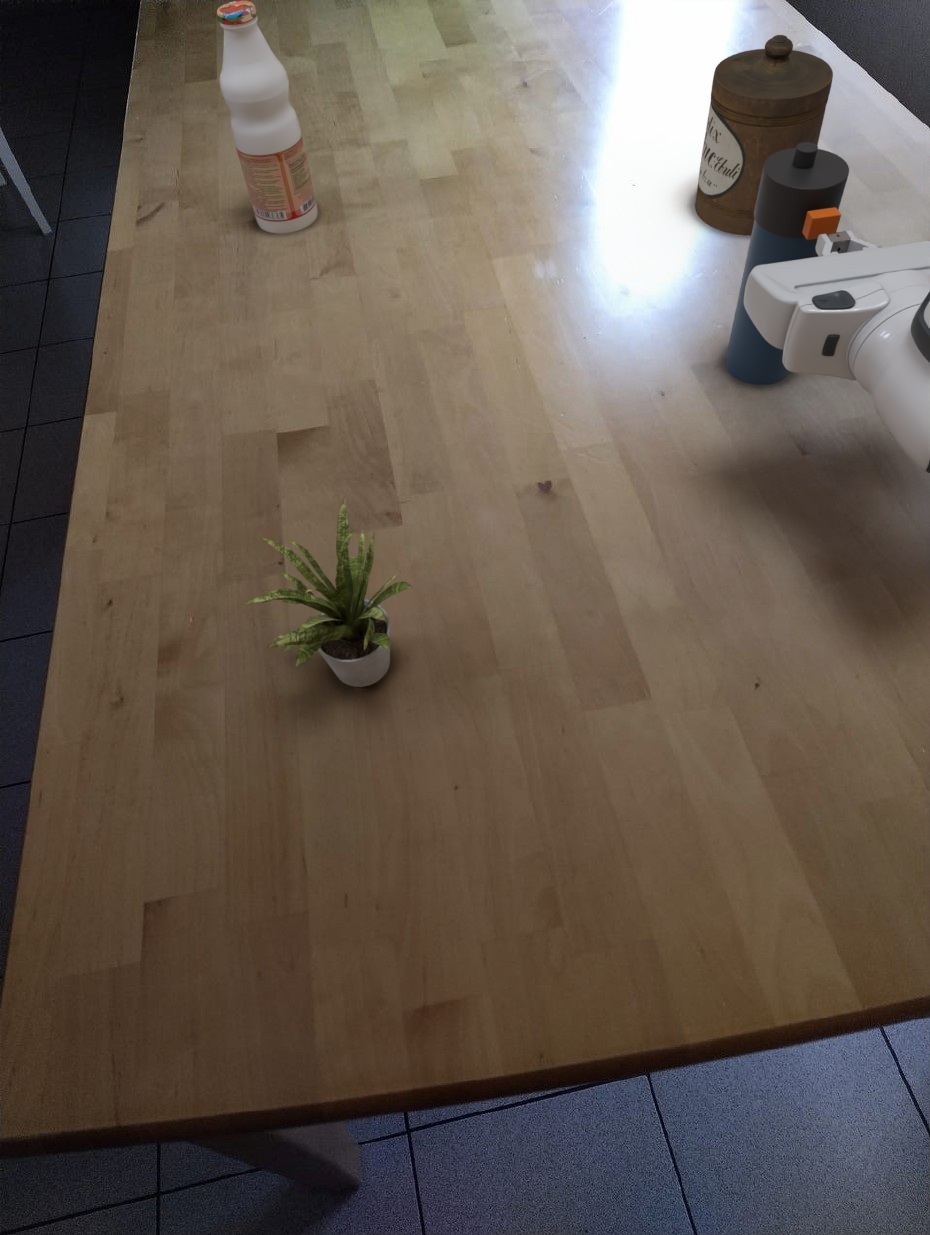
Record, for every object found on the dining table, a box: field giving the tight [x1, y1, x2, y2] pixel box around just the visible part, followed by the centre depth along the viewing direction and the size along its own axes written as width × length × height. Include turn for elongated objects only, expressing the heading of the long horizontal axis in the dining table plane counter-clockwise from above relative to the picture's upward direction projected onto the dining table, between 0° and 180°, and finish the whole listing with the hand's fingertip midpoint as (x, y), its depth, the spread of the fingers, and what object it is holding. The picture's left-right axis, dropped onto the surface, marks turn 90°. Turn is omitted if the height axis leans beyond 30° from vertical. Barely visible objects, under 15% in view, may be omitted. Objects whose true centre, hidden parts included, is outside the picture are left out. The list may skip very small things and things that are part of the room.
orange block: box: [802, 207, 842, 240], centre depth 83 cm, size 1×3×2 cm, turn 97°
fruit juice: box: [216, 0, 319, 234], centre depth 120 cm, size 9×9×28 cm
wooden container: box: [694, 34, 834, 236], centre depth 115 cm, size 15×15×22 cm
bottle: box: [724, 142, 850, 386], centre depth 94 cm, size 8×8×26 cm
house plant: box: [242, 496, 417, 688], centre depth 77 cm, size 14×14×16 cm
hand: (831, 239), depth 82 cm, fingers closed
